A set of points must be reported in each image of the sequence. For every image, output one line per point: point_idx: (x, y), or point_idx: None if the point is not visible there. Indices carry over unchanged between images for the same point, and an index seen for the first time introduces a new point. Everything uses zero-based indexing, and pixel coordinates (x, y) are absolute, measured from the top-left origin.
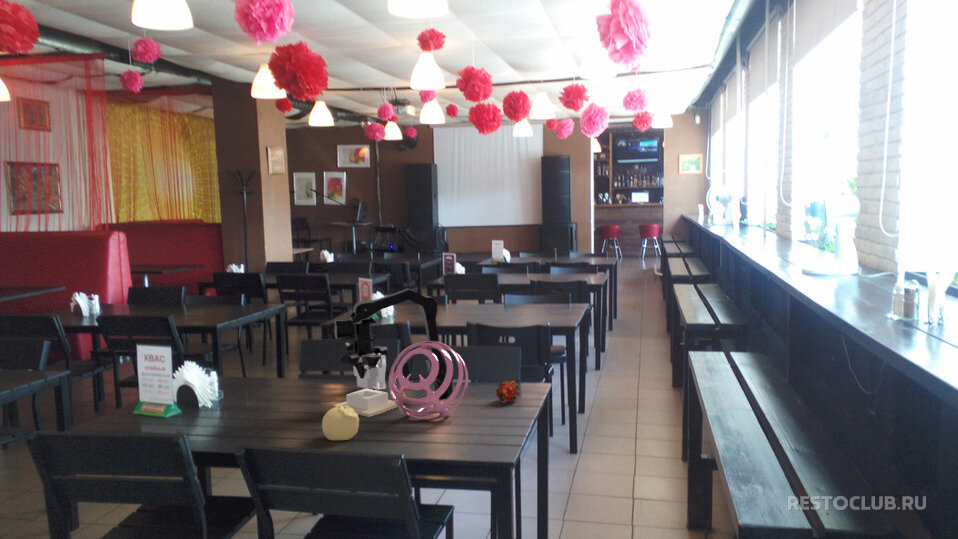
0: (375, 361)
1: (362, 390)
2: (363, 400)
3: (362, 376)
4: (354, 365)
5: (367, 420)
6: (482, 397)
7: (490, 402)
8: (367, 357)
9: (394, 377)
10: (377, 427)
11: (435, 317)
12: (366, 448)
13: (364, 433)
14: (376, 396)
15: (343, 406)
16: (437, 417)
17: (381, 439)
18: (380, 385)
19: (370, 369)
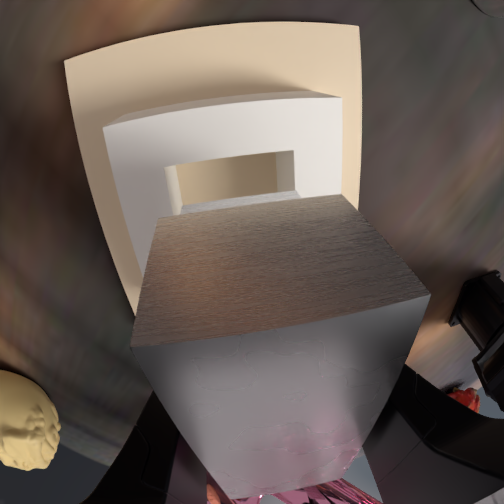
0: (388, 500)
1: (276, 124)
2: None
3: None
4: (92, 494)
5: (123, 345)
6: (469, 355)
7: (437, 387)
8: (466, 498)
9: (283, 492)
10: (125, 399)
11: None
12: (66, 439)
13: (79, 403)
14: None
15: (13, 458)
16: None
17: (105, 436)
18: (492, 5)
19: (242, 494)
